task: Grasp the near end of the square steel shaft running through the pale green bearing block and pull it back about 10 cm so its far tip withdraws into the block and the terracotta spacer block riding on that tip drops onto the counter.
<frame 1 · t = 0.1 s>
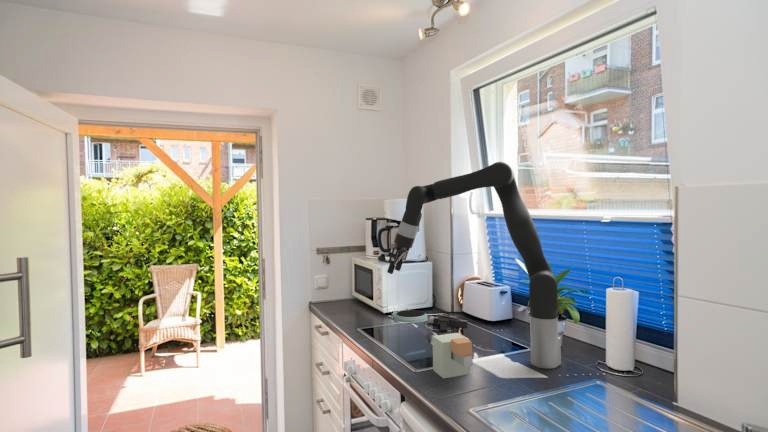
hand: (393, 271, 174), 31 cm above the worktop, tool tilted 20°, fingers open, 8 cm apart
pale green frying pan: (407, 317, 225), on the worktop
bearing block: (451, 372, 149), on the worktop
toy gun: (443, 329, 203), on the worktop
spacer: (461, 352, 141), point 9 cm above the worktop, touching shaft
shaft: (448, 348, 150), point 8 cm above the worktop, slide at 0.0 cm, touching spacer
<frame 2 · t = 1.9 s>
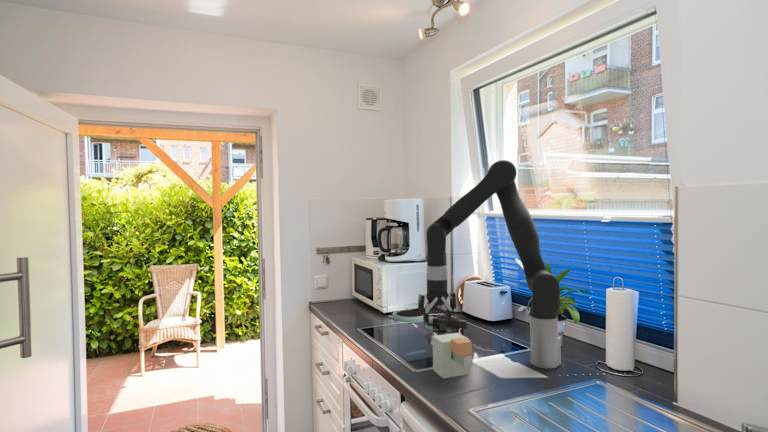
hand: (437, 321, 158), 15 cm above the worktop, tool pointing down, fingers open, 8 cm apart
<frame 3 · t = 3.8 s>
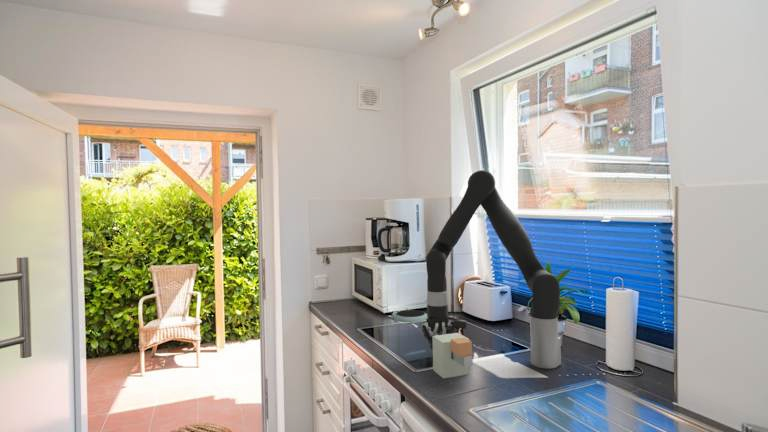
hand: (438, 349, 158), 5 cm above the worktop, tool pointing down, fingers closed on shaft, 3 cm apart
shaft: (448, 348, 150), point 8 cm above the worktop, slide at 0.0 cm, touching gripper, spacer
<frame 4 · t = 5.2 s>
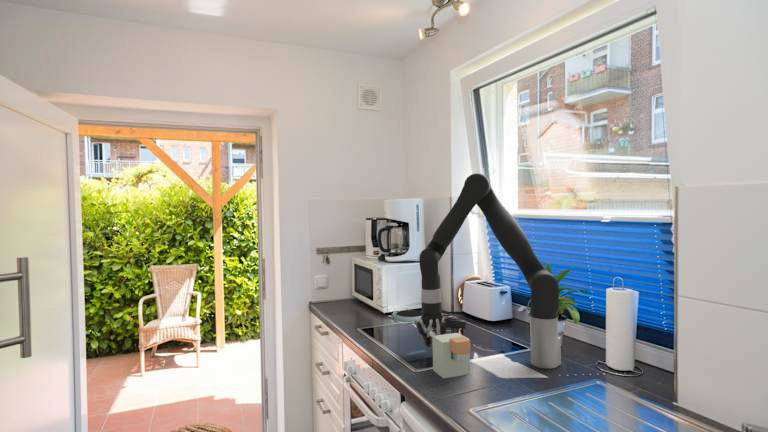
hand: (432, 345, 163), 5 cm above the worktop, tool pointing down, fingers closed on shaft, 3 cm apart
spacer: (459, 351, 142), point 9 cm above the worktop, touching bearing block
shaft: (441, 344, 155), point 8 cm above the worktop, slide at 4.9 cm, touching gripper
everything else where it was.
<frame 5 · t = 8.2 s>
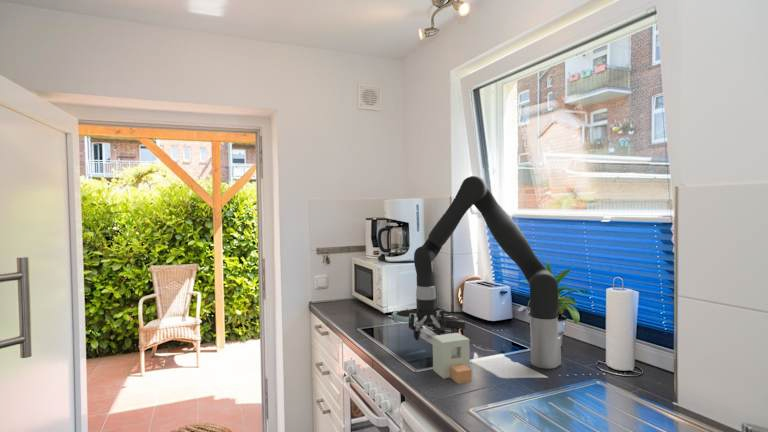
hand: (427, 338, 167), 6 cm above the worktop, tool pointing down, fingers open, 8 cm apart
spacer: (461, 380, 142), on the worktop
shaft: (435, 340, 160), point 8 cm above the worktop, slide at 9.8 cm
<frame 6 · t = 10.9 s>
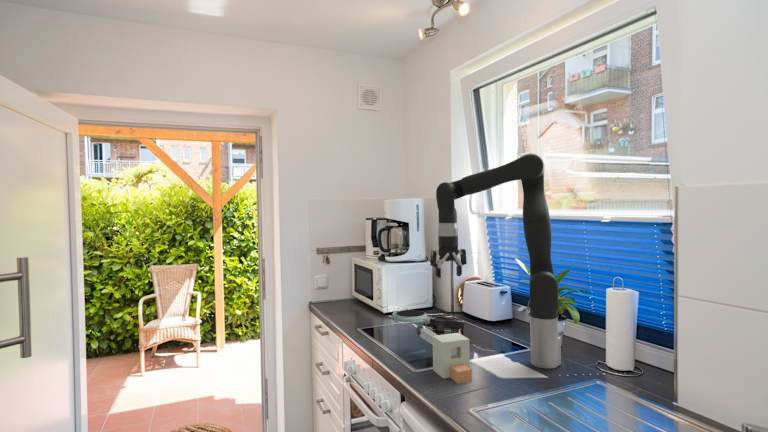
hand: (448, 276, 166), 30 cm above the worktop, tool pointing down, fingers open, 8 cm apart
at the end: shaft slide at 9.8 cm; spacer on the worktop; spacer touching worktop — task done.
